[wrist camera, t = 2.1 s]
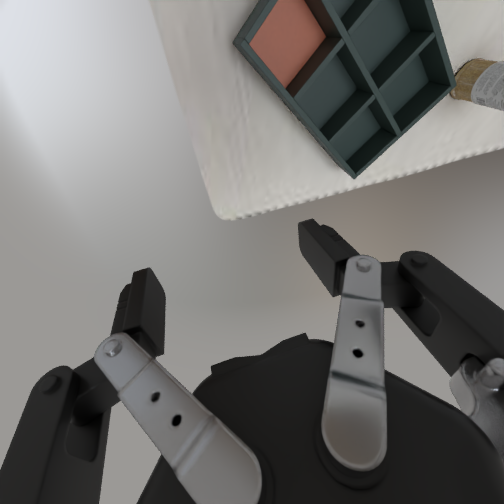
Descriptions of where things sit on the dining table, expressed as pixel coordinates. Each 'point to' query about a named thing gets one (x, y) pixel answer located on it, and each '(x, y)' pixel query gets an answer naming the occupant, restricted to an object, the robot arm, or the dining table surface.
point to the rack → (350, 69)
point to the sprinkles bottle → (481, 83)
